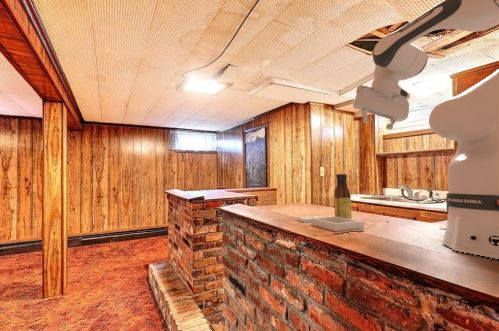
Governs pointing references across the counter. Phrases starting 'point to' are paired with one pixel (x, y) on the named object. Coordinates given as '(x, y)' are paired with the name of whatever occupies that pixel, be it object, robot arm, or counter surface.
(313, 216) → the tile
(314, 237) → the counter surface
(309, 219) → the tile
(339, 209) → the sauce bottle
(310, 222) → the slate board
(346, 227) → the bin
